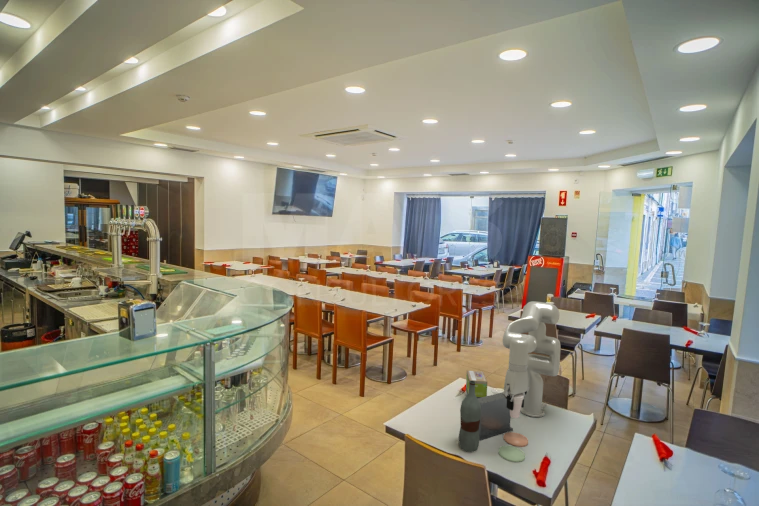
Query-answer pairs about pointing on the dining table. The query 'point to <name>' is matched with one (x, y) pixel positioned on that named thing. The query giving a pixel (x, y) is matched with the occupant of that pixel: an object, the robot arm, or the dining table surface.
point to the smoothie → (516, 405)
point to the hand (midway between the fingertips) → (515, 407)
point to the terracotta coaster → (515, 439)
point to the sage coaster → (511, 453)
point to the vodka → (470, 421)
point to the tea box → (477, 383)
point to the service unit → (494, 416)
